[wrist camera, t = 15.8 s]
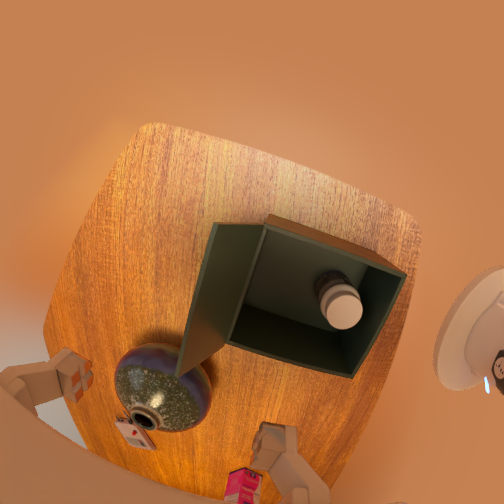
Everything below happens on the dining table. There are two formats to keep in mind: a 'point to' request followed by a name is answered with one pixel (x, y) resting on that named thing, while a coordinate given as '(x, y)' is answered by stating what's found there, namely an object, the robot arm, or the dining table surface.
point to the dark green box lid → (217, 291)
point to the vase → (162, 389)
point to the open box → (310, 299)
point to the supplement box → (243, 487)
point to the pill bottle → (338, 300)
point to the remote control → (134, 433)
